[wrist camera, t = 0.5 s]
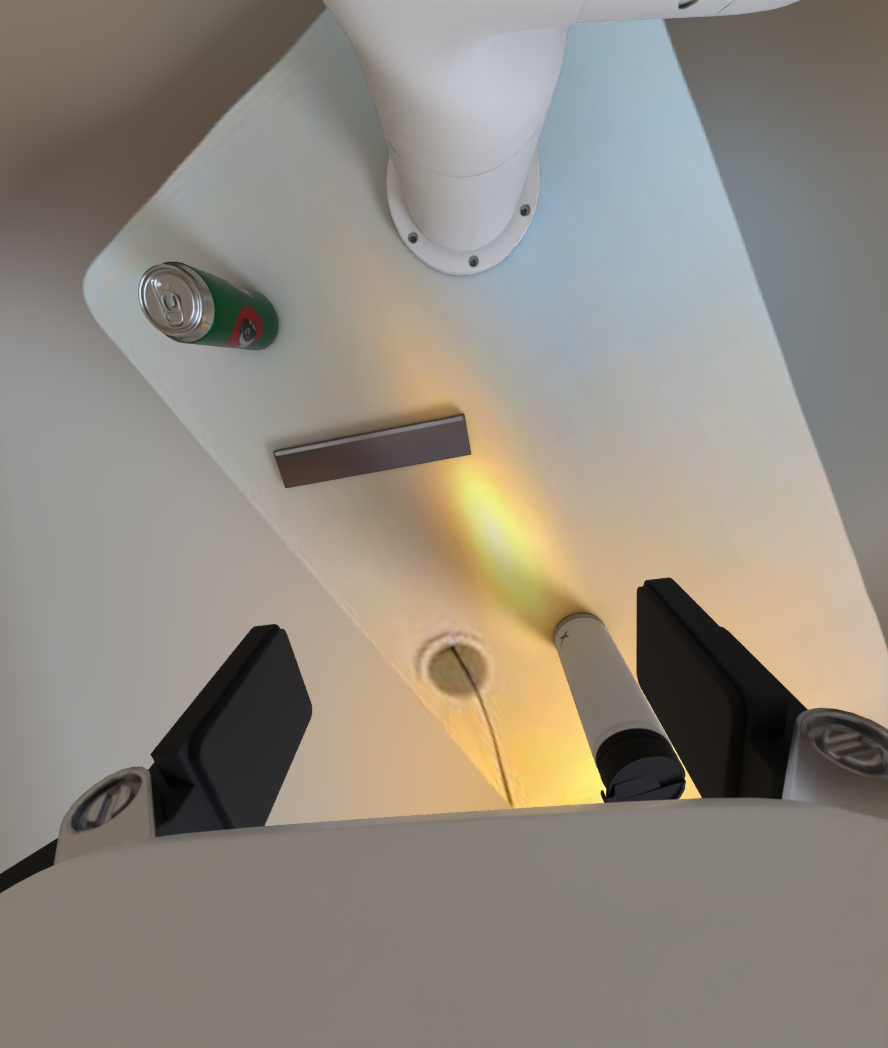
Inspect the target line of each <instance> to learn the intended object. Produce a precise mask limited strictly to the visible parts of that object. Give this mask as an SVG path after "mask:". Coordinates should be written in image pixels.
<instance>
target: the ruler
mask: <svg viewBox="0 0 888 1048" xmlns="http://www.w3.org/2000/svg"><path fill="white" fill-rule="evenodd" d="M273 453H274V456H275V459H276V462H277V465H278V468H279V471H280V474H281V477H282V480H283V483H284V486H285V488H290V487H296V486H301V485H307V484H312V483H318V482H323V481H329V480H334V479H340V478H345V477H350V476H356V475H361V474H367V473H372V472H378V471H383V470H389V469H394V468H400V467H405V466H411V465H416V464H422V463H427V462H432V461H438V460H443V459H449V458H454V457H460V456H465V455H471V451H470V445H469V439H468V433H467V427H466V421H465V415H464V414H461V415H456V416H450V417H445V418H440V419H435V420H430V421H425V422H419V423H414V424H409V425H404V426H399V427H394V428H388V429H383V430H378V431H373V432H368V433H363V434H357V435H352V436H347V437H342V438H337V439H332V440H326V441H321V442H316V443H311V444H306V445H301V446H295V447H290V448H285V449H280V450H276V451H273Z"/></svg>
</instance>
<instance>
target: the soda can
mask: <svg viewBox="0 0 888 1048" xmlns="http://www.w3.org/2000/svg"><path fill="white" fill-rule="evenodd" d="M138 296H139V302H140V305H141V308H142V311H143V313H144V314H145V316H146V318H147V319H148V320H149V322H150V323H151V324H152V325H153V326H154V327H155V328H157V329H158V330H159V331H161V332H162V333H163V334H165V335H166V336H167V337H169V338H171V339H173V340H175V341H178V342H181V343H188V344H198V345H208V346H218V347H227V348H237V349H247V350H261V349H264V348H266V347H268V346H269V345H270V344H271V343H272V342H273V341H274V339H275V338H276V335H277V332H278V318H277V314H276V311H275V309H274V307H273V305H272V304H271V303H270V301H269V300H268V299H267V298H266V297H264V296H263V295H262V294H260V293H258V292H256V291H253V290H250V289H248V288H245V287H243V286H240V285H237V284H235V283H232V282H230V281H227V280H225V279H222V278H219V277H217V276H214V275H212V274H209V273H206V272H204V271H201V270H199V269H196V268H194V267H191V266H188V265H186V264H183V263H179V262H165V263H162V264H160V265H156V266H153V267H151V268H150V269H148V270H147V271H146V272H145V273H144V274H143V276H142V278H141V280H140V283H139V289H138Z"/></svg>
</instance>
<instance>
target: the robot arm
mask: <svg viewBox="0 0 888 1048" xmlns="http://www.w3.org/2000/svg"><path fill="white" fill-rule="evenodd" d="M797 1H799V0H323V2H324V4H325V5H326V7H327V8H328V10H329V11H330V13H331V14H332V15H333V17H334V18H335V20H336V21H337V23H338V24H339V25H340V27H341V28H342V30H343V31H344V33H345V34H346V36H347V37H348V39H349V40H350V42H351V44H352V46H353V48H354V50H355V53H356V55H357V57H358V60H359V63H360V65H361V68H362V71H363V74H364V76H365V79H366V82H367V85H368V88H369V91H370V94H371V97H372V100H373V103H374V106H375V109H376V112H377V115H378V118H379V121H380V124H381V127H382V130H383V133H384V136H385V139H386V142H387V145H388V148H389V151H390V153H389V159H388V164H387V171H386V191H387V200H388V206H389V209H390V213H391V216H392V220H393V222H394V225H395V227H396V229H397V231H398V233H399V235H400V237H401V238H402V240H403V242H404V244H405V245H406V246H407V247H408V249H409V250H410V251H411V252H412V253H413V255H414V256H415V257H417V258H418V259H419V260H420V261H422V262H423V263H424V264H425V265H427V266H429V267H431V268H433V269H435V270H436V271H439V272H442V273H446V274H450V275H464V276H465V275H471V274H476V273H480V272H482V271H485V270H487V269H490V268H492V267H493V266H495V265H496V264H498V263H499V262H501V261H503V260H504V259H505V258H506V257H507V256H508V255H509V254H510V253H511V252H512V251H513V250H514V249H515V248H516V246H517V245H518V243H519V242H520V241H521V239H522V238H523V237H524V235H525V233H526V231H527V229H528V227H529V225H530V222H531V220H532V218H533V215H534V213H535V209H536V205H537V200H538V196H539V189H540V164H539V155H538V151H537V144H538V141H539V138H540V135H541V132H542V129H543V126H544V123H545V120H546V117H547V114H548V110H549V108H550V104H551V101H552V98H553V95H554V92H555V89H556V85H557V82H558V79H559V76H560V73H561V69H562V65H563V61H564V56H565V50H566V45H567V39H568V27H571V26H572V25H573V24H574V23H583V22H602V21H622V20H642V19H661V18H681V17H698V16H720V15H735V14H745V13H752V12H759V11H766V10H771V9H775V8H779V7H783V6H786V5H789V4H791V3H794V2H797ZM521 211H526V213H527V215H526V216H522V215H521ZM413 237H415V238H417V241H416V242H415V243H412V242H411V239H412V238H413ZM471 261H475V262H476V265H475V266H471V264H470V263H471ZM637 678H638V682H639V685H640V687H641V689H642V691H643V693H644V694H645V696H646V698H647V700H648V702H649V703H650V705H651V707H652V709H653V711H654V712H655V714H656V716H657V718H658V720H659V721H660V723H661V725H662V727H663V729H664V730H665V732H666V734H667V736H668V738H669V739H670V741H671V743H672V745H673V747H674V748H675V750H676V752H677V754H678V756H679V757H680V759H681V761H682V763H683V764H684V766H685V768H686V770H687V772H688V773H689V775H690V777H691V779H692V781H693V782H694V784H695V786H696V788H697V790H698V791H699V793H700V795H701V797H702V798H697V799H675V800H652V801H630V802H613V803H597V804H581V805H565V806H549V807H533V808H517V809H501V810H486V811H471V812H456V813H443V814H442V813H441V814H427V815H412V816H398V817H384V818H369V819H355V820H342V821H329V822H315V823H303V824H289V825H275V826H265V823H266V821H267V819H268V817H269V814H270V812H271V810H272V807H273V805H274V803H275V800H276V798H277V796H278V793H279V791H280V789H281V786H282V784H283V782H284V779H285V777H286V775H287V772H288V770H289V768H290V765H291V763H292V761H293V759H294V756H295V754H296V752H297V749H298V747H299V745H300V742H301V740H302V737H303V735H304V733H305V731H306V728H307V726H308V723H309V722H310V719H311V715H312V704H311V701H310V698H309V696H308V693H307V690H306V687H305V684H304V681H303V679H302V676H301V673H300V670H299V667H298V664H297V661H296V659H295V656H294V653H293V650H292V647H291V644H290V642H289V639H288V636H287V633H286V631H285V630H284V629H280V627H279V626H278V625H276V624H271V625H263V626H255V627H253V628H252V629H251V630H250V631H249V633H248V634H247V635H246V637H245V638H244V639H243V640H242V641H241V643H240V644H239V645H238V646H237V648H236V649H235V650H234V651H233V652H232V654H231V655H230V656H229V657H228V659H227V660H226V661H225V663H224V664H223V665H222V666H221V667H220V669H219V670H218V671H217V672H216V673H215V675H214V676H213V677H212V678H211V680H210V681H209V682H208V683H207V685H206V686H205V687H204V688H203V690H202V691H201V692H200V693H199V695H198V696H197V697H196V698H195V700H194V701H193V702H192V703H191V705H190V706H189V707H188V708H187V710H186V711H185V712H184V713H183V715H182V716H181V717H180V718H179V719H178V721H177V722H176V723H175V724H174V726H173V727H172V728H171V730H170V731H169V732H168V733H167V734H166V736H165V737H164V738H163V739H162V740H161V742H160V743H159V744H158V746H157V747H156V748H155V749H154V751H153V752H152V753H151V756H152V758H153V760H154V761H155V762H154V763H153V765H152V766H151V767H150V769H149V770H147V769H145V768H143V767H130V768H127V769H123V770H120V771H118V772H116V773H114V774H111V775H109V776H107V777H106V778H104V779H103V780H101V781H99V782H98V783H96V784H95V785H94V786H92V787H91V788H90V789H89V790H88V791H86V792H85V793H84V794H82V796H81V797H80V798H79V799H78V800H77V801H76V802H75V803H74V804H73V805H72V806H71V807H70V809H69V810H68V812H67V813H66V815H65V816H64V818H63V821H62V823H61V826H60V830H59V836H58V838H57V839H55V840H54V841H52V842H51V843H49V844H47V845H46V846H44V847H43V848H41V849H39V850H38V851H36V852H35V853H33V854H31V855H30V856H28V857H27V858H25V859H23V860H22V861H20V862H19V863H17V864H15V865H14V866H12V867H11V868H9V869H7V870H6V871H4V872H3V873H1V874H0V1048H888V729H887V728H885V727H883V726H881V725H879V724H877V723H876V722H874V721H872V720H870V719H867V718H864V717H862V716H859V715H857V714H854V713H851V712H846V711H842V710H838V709H829V708H816V709H809V710H808V709H806V708H805V707H804V706H803V705H802V704H801V703H800V702H799V701H798V700H797V699H796V698H795V697H794V696H793V695H792V694H791V693H790V692H789V691H788V690H787V689H786V688H785V687H784V686H783V685H782V684H781V683H780V682H779V681H778V680H777V679H776V678H775V677H774V676H773V675H772V674H771V673H770V672H769V671H768V670H767V669H766V668H765V667H764V666H763V665H762V664H761V663H760V662H759V661H758V660H757V659H756V658H755V657H754V656H753V655H752V654H751V653H750V652H749V651H748V650H747V649H746V648H745V647H744V646H743V645H742V644H741V643H740V642H739V641H738V640H737V639H736V638H735V637H734V636H733V635H732V634H731V633H730V632H729V631H727V630H726V629H725V628H723V627H720V626H719V625H718V624H717V623H716V622H715V621H714V620H713V619H712V618H711V617H710V616H709V615H708V614H707V613H706V612H705V611H704V610H703V609H702V608H701V607H700V606H699V605H698V604H697V603H696V602H695V601H694V600H693V599H692V598H691V597H690V596H689V595H688V594H687V593H686V592H685V591H684V590H683V589H682V588H681V587H680V586H679V585H678V584H677V583H676V582H675V581H674V580H673V579H671V578H661V579H652V580H646V581H645V582H644V586H642V587H638V589H637Z"/></svg>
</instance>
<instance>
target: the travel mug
mask: <svg viewBox="0 0 888 1048" xmlns="http://www.w3.org/2000/svg"><path fill="white" fill-rule="evenodd" d="M554 643H555V646H556V649H557V652H558V655H559V658H560V661H561V664H562V667H563V669H564V672H565V675H566V678H567V681H568V684H569V687H570V690H571V693H572V696H573V699H574V702H575V705H576V708H577V711H578V714H579V717H580V720H581V723H582V726H583V729H584V731H585V734H586V737H587V740H588V743H589V746H590V749H591V752H592V755H593V758H594V761H595V764H596V767H597V768H598V771H599V773H600V776H601V779H602V782H603V784H604V786H605V787H606V796H605V794H604V792H603V790H602V791H601V796H602V799H603V801H604V803H613V802H630V801H652V800H675V799H679V798H680V797H681V795H682V794H683V792H684V790H685V783H686V781H685V779H684V778H685V770H684V768H683V766H682V764H681V762H680V761H679V759H678V757H677V755H676V753H675V752H674V750H673V748H672V745H671V743H670V741H669V739H668V738H667V736H666V734H665V732H664V730H663V729H662V727H661V725H660V723H659V722H658V720H657V718H656V716H655V714H654V713H653V711H652V709H651V707H650V705H649V704H648V702H647V700H646V698H645V697H644V695H643V693H642V691H641V689H640V688H639V686H638V684H637V682H636V680H635V679H634V677H633V675H632V673H631V672H630V670H629V668H628V666H627V664H626V663H625V661H624V659H623V657H622V655H621V654H620V652H619V650H618V648H617V647H616V645H615V643H614V641H613V639H612V638H611V636H610V634H609V632H608V631H607V629H606V627H605V625H604V623H603V622H602V621H601V620H600V619H599V618H597V617H595V616H593V615H590V614H584V613H580V614H574V615H571V616H568V617H566V618H565V619H563V620H562V621H561V622H560V623H559V624H558V626H557V627H556V629H555V631H554Z"/></svg>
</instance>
